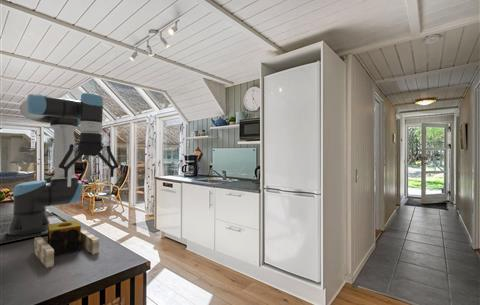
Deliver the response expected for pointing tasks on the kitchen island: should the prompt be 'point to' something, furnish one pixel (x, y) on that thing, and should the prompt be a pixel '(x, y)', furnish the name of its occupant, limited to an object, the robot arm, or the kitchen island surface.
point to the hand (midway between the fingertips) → (89, 185)
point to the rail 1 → (44, 252)
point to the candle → (64, 237)
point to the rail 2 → (89, 242)
